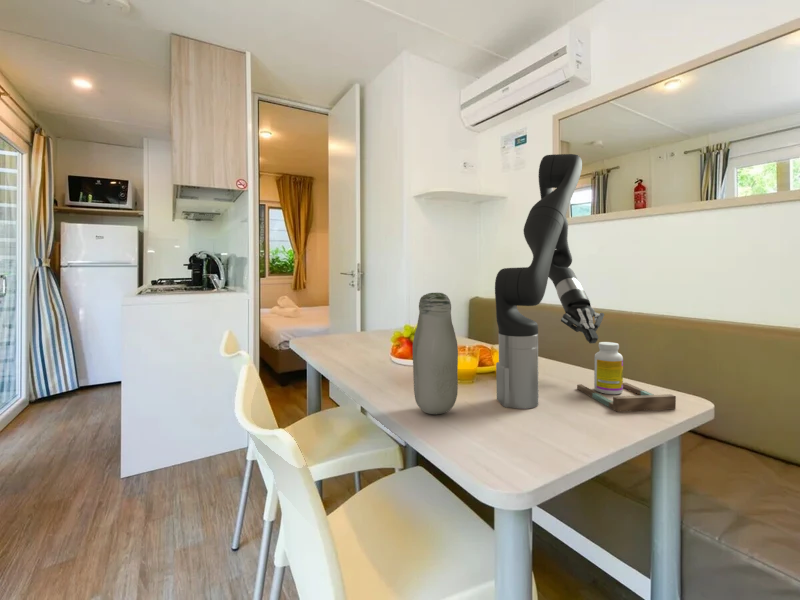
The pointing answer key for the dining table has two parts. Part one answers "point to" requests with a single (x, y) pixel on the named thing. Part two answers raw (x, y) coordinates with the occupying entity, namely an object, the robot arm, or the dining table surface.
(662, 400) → the frame
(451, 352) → the grey bottle
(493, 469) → the dining table surface
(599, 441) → the dining table surface
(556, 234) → the robot arm
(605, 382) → the supplement bottle
